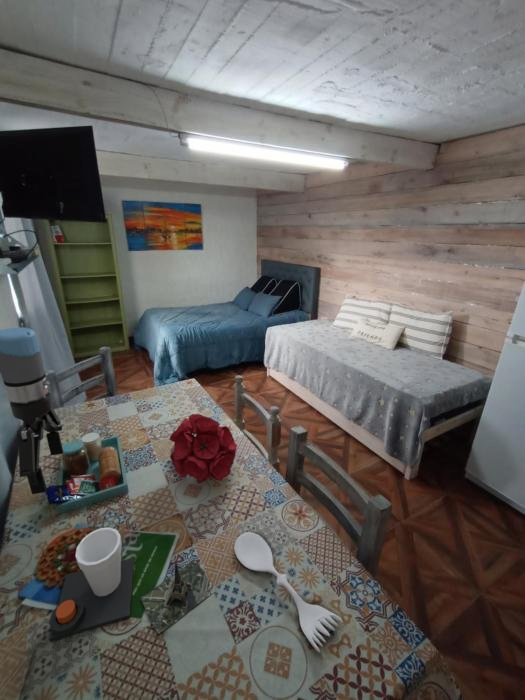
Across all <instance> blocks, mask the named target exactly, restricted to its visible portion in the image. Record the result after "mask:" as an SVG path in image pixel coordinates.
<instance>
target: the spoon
mask: <svg viewBox="0 0 525 700" xmlns="http://www.w3.org/2000/svg"><path fill="white" fill-rule="evenodd" d="M233 547H234V553H235V556H236V558H237V560H238V561H239V562H240V563H241V564H242V565H243V566H244V567H245V568H247V569H249V570H252V571H256V572H265V573H271V574H272V575H273V576H275V577H276V581H275V582H276V585H278V586H282V587H284V589H286V591H287V592H288V593H289V594H290V595H291V597H292V599H293V601H294V603H295V606H296V608H297V611H298V618H299V624H300V625H299V626H300V627H301V628H300V629H301V630H302V632H303V634H304V636H305V637H306V639H307V640H308V642H309V643H310V645H311V646H312V647H313V649H314V650H315V651H317V653H321V650H320V648H319V647H318V645H319V646H320V647H322V648H324V646H323V644H322V642H324V643H327V641H326V639H325V638H324V637H323V636H322V634H323V635H325V636H326V637H331V634H330V633H329V631H328V630H327V629H326V628H328V629H330V630H331V631H333V632H336V630H335V628H334V627H333V626H335V627H337V628H339V625H338V623H337V622H339V623H341V624H344V620H343V619H342V618H341V617H340V615H338V614H335V613H333V612H332V611H330V610H328V609H327V608H325V607H323V606H320V605H317V604H311V603H309V602H306V601H304V600H303V599H302V598H301V596H300V595H299V594H298V593H297V591H296V590H295V589H294V588H293V587H292V585H291V584H290V583H289V582H288V576H287V575H286V574H285V573H283V574H281V573H279V572H278V571H277V570H276V568H275V566H274V559H273V553H272V550H271V547H270V545H269V544H268V543H267V542H266V540H265V538H263V537H262V536H261V535H259V534H257V533H255V532H252V531H246V532H244V533H241V534H240V535H239V536H238V537H237V538H236V539H235V542H234V545H233ZM336 621H337V622H336ZM331 624H332V625H331ZM324 626H325V627H324ZM320 633H321V634H320ZM320 640H321V641H322V642H321V641H320Z"/></svg>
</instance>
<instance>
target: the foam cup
mask: <svg viewBox="0 0 525 700" xmlns="http://www.w3.org/2000/svg"><path fill="white" fill-rule="evenodd" d="M122 543H123V542H122V536H121V534H120V532H119V531H118V529H115V528H112V527H100V528H98V529H95V530H93V531H91V532H89V533H88V534H87V535H85V536H84V537H83V538H81V540H80V542H79V543H78V545H77V546H76V550H75V560H76V564H77V565H78V567H79V569H80V571H83V573H84V575H85V577H86V579H87V581H88V582H89V584H90V586H91V588H92V590H93V592H94V594H95V595H97V596H106V595H108V594H110V593H112V592H113V591H114V590H115V589H116V588H117V587H118V585H119V583H120V577H121V561H122V553H121V552H122V547H123V546H122Z"/></svg>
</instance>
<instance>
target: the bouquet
mask: <svg viewBox="0 0 525 700" xmlns="http://www.w3.org/2000/svg"><path fill="white" fill-rule="evenodd" d="M220 424H221V423H220V422H218V421H217V420H215V419H214V418H212V417H208V416H206V415H203V414H199V413H193V414H190V415H189V417H188V418H187V417H186V418H184V419H183V420H182V421H181V422H180V425H179V426H177V428H176V429H175V430H174V431H173V432H172V433H171V434H170V435H169V438H168V440H169V441H171V442H172V443H173V442H174V444H173V445H172V447H170V456H169V458H170V459H171V462H172V465H173V468H174V469H175V472H176V474H177V475H179V477H180V478H179V479H184V478H186V477H187V476H189V477H191V478H193V479H196V483H197V485H201V484H202V483H203V482H206V481H207V480H209V479H211V478H212V479H213V480H215V481H217V482H218V481H219V482H222V481H223V480H224V479H226V478H227V477H229V476H230V475H231V473H232V466H233V465H234V463H235V462H234V461H235V458H236V452H237V448H238V445H237V443H236V441H235V439H234V437H233V434H232V432H231V429H230V428H229V427H228V426H226V425H224V426H223V425H221V426H220Z"/></svg>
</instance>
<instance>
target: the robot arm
mask: <svg viewBox="0 0 525 700" xmlns="http://www.w3.org/2000/svg"><path fill="white" fill-rule="evenodd" d="M41 349H42V347H41V345H40V342H39V339H38V336H37V334H36V332H35V330H33V329H31V328H29V327H21V326H20V327H9V328H3V329H0V374H1V377H2V381H3V384H4V388H5V392H6V396H7V400H8V401H9V406H10V409H11V412H12V415H13V417H14V418H15V419H18V420H20V421H22V422H23V424H22V429H21V430H17V432H16V436H17V440H18V462H19V463H18V465H19V468H18V469H19V470H18V471H19V478H25V477H26V478H27V481H28V484H29V489H30V492H31V495H36V494H37V495H38V494H42V493H46V492H47V489H48V488H47V485H46V481H45V477H44V473H43V470H42V467H41V466H40V452H41V441H42V440H43V439H44V431H45V432H47V433H46V440H47V443H48V444H47V445H48V449H49V452H50V456H56V455H63V454H64V449H63V444H62V440H61V435H60V432H62V431H63V426H62V425H61V423H62V422H61V419H60V418H59V416H58V414H57V413H56V411H55V409H54V408H53V406H54V405H53V400H52V395H51V393H50V388H49V386H50V385H51V382H50V380H48V379H47V374H46V371H45V366H44V362H43V355H42V351H41Z"/></svg>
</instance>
